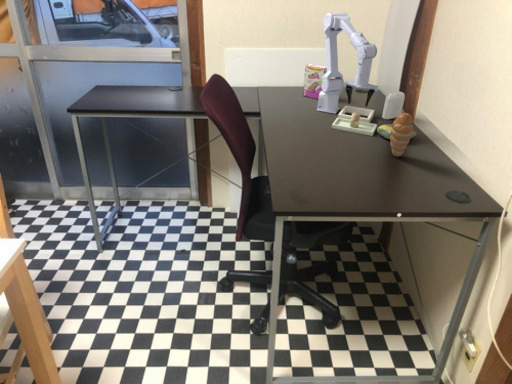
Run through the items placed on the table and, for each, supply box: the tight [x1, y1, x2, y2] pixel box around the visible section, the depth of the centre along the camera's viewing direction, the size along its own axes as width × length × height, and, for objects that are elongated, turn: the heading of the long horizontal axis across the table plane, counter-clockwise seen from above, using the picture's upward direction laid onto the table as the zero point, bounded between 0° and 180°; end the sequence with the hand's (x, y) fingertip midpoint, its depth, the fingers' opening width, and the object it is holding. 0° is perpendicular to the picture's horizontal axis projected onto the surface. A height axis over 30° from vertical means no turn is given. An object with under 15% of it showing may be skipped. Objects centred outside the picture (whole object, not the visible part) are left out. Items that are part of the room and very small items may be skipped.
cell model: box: [376, 123, 417, 140], centre depth 173 cm, size 11×8×15 cm
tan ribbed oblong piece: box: [389, 108, 414, 158], centre depth 154 cm, size 9×8×18 cm
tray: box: [331, 116, 378, 137], centre depth 181 cm, size 18×10×2 cm, turn 66°
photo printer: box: [381, 91, 406, 120], centre depth 193 cm, size 10×4×12 cm, turn 123°
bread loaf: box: [350, 113, 361, 128], centre depth 180 cm, size 4×4×6 cm
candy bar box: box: [302, 63, 327, 100], centre depth 214 cm, size 11×5×16 cm, turn 58°
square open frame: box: [337, 105, 375, 123], centre depth 192 cm, size 14×14×3 cm
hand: (357, 104), depth 181 cm, fingers open, 7 cm apart
